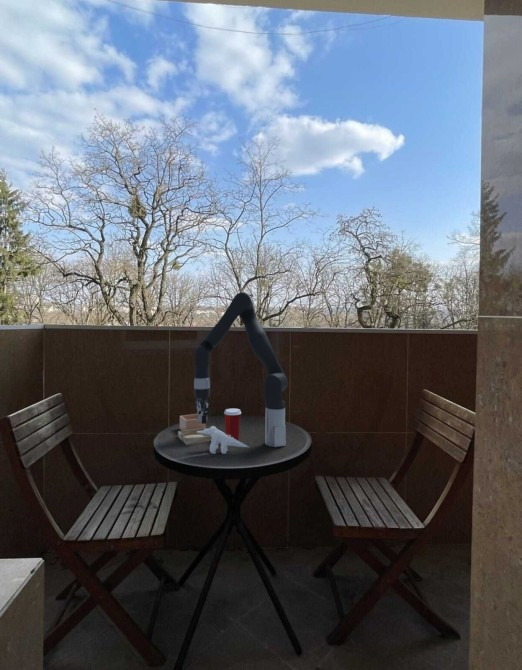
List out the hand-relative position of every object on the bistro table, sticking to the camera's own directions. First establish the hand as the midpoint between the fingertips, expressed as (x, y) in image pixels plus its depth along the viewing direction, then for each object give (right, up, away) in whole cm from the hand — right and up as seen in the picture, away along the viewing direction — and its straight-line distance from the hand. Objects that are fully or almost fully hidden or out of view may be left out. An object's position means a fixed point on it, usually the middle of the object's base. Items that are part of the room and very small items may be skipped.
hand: (202, 422), depth 173 cm
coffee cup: (+15, -9, -1) cm, 17 cm away
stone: (0, 0, 0) cm, 0 cm away
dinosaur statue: (+12, -9, -17) cm, 22 cm away
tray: (-3, -9, -1) cm, 9 cm away
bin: (-7, -8, +13) cm, 17 cm away
